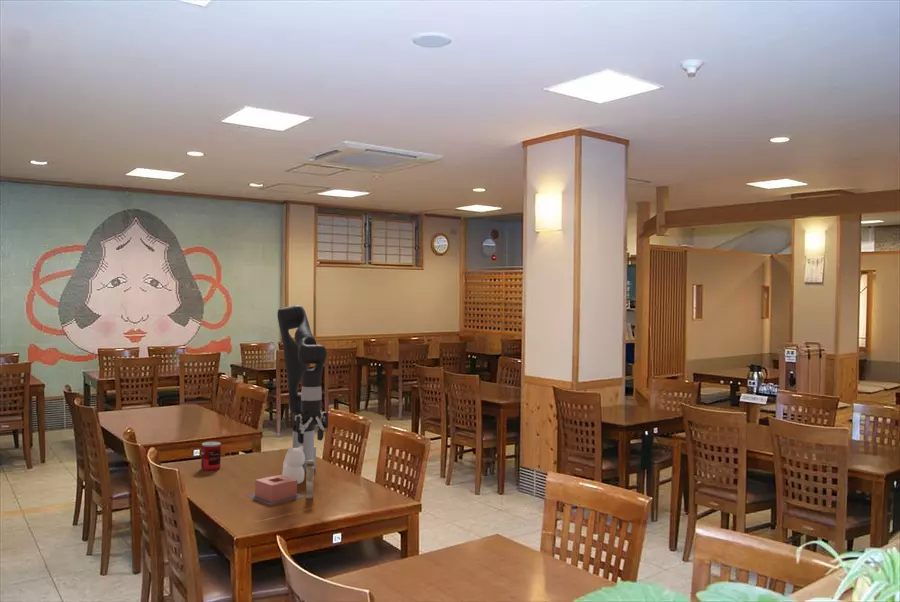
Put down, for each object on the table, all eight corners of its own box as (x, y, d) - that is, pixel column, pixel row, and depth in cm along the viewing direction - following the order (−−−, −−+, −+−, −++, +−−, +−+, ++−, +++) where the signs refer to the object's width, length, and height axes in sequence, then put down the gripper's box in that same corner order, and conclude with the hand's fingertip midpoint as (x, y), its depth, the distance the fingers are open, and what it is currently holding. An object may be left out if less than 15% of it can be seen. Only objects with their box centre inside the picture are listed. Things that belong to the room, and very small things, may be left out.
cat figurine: (291, 488, 274) (292, 450, 274) (273, 481, 282) (274, 444, 282) (310, 483, 281) (311, 446, 280) (291, 477, 289) (292, 441, 289)
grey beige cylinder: (310, 496, 262) (311, 459, 262) (315, 498, 260) (315, 460, 260) (304, 498, 260) (304, 460, 260) (308, 500, 258) (309, 462, 258)
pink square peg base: (280, 490, 269) (280, 474, 269) (296, 496, 261) (297, 480, 261) (255, 495, 260) (255, 479, 260) (271, 502, 253) (271, 485, 253)
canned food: (206, 466, 306) (206, 441, 306) (223, 467, 305) (224, 442, 305) (197, 470, 298) (198, 444, 298) (215, 471, 297) (215, 445, 297)
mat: (282, 488, 272) (282, 487, 272) (306, 497, 261) (306, 496, 261) (245, 496, 260) (245, 495, 260) (269, 505, 249) (269, 504, 249)
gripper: (320, 395, 268) (319, 437, 268) (289, 398, 257) (288, 442, 257) (332, 397, 263) (332, 440, 263) (301, 401, 252) (300, 445, 252)
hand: (310, 441), depth 260 cm, fingers open, 8 cm apart
